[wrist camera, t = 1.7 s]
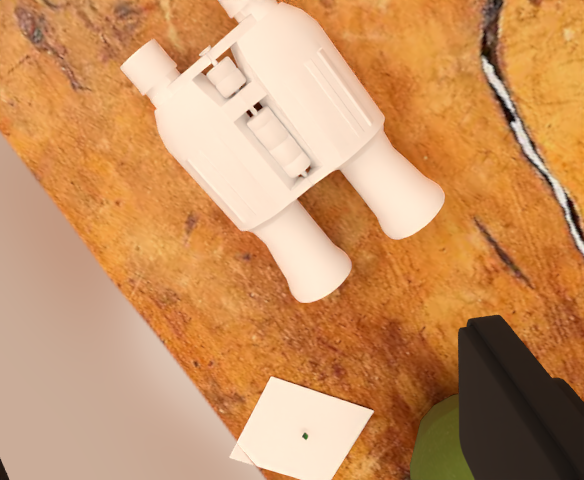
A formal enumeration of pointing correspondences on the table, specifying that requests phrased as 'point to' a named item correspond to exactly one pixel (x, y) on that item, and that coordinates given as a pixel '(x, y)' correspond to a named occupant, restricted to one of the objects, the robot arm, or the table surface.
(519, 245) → the table surface
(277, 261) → the binoculars
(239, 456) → the white box
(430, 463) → the apple
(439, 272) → the table surface
